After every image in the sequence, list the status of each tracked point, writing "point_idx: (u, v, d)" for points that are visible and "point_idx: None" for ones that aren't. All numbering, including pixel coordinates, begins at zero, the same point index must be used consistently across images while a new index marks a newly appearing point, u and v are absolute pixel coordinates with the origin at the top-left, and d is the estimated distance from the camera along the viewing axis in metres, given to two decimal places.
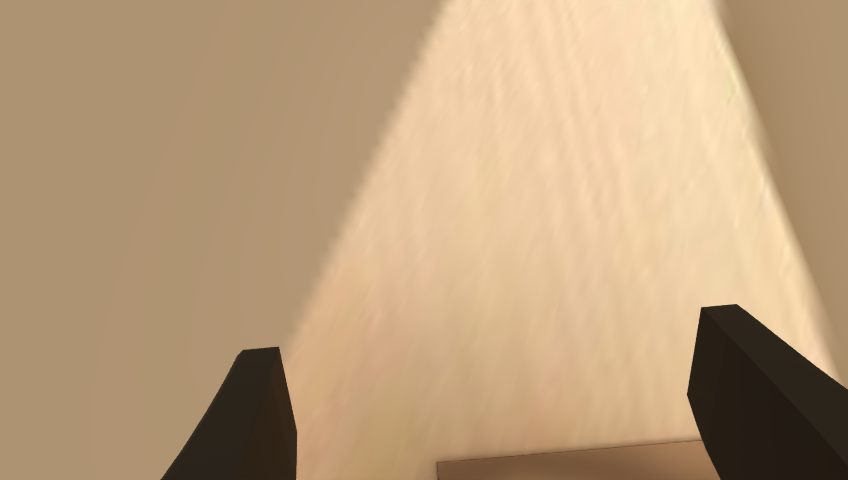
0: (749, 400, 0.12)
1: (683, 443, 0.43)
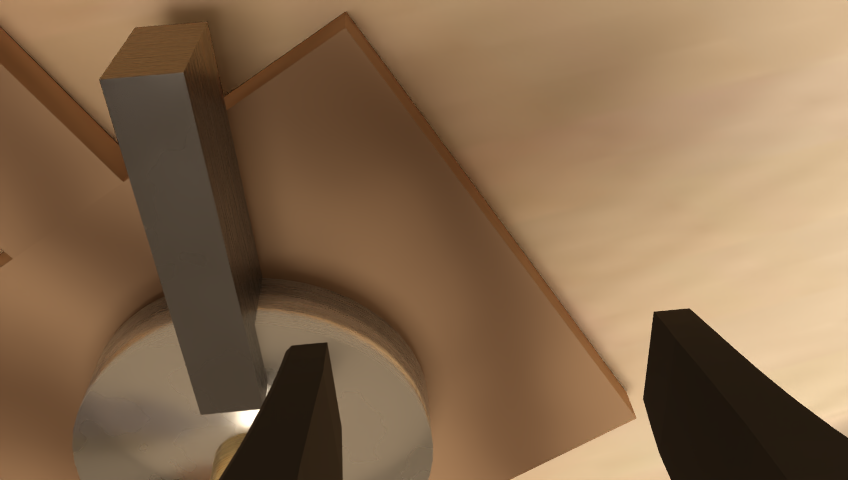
0: (696, 405, 0.12)
1: (598, 370, 0.25)
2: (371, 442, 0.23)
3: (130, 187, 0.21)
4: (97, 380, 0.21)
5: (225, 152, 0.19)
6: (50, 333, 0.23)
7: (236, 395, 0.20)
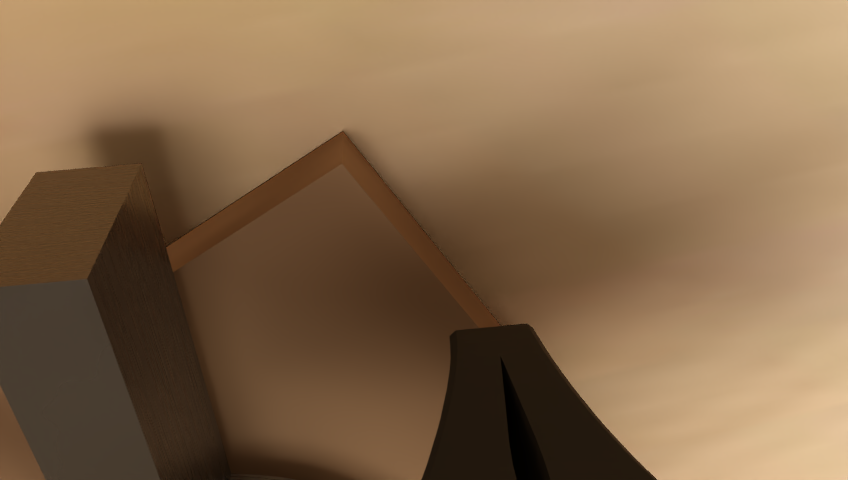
0: (514, 422, 0.12)
1: None
2: None
3: None
4: None
5: (170, 342, 0.13)
6: None
7: None
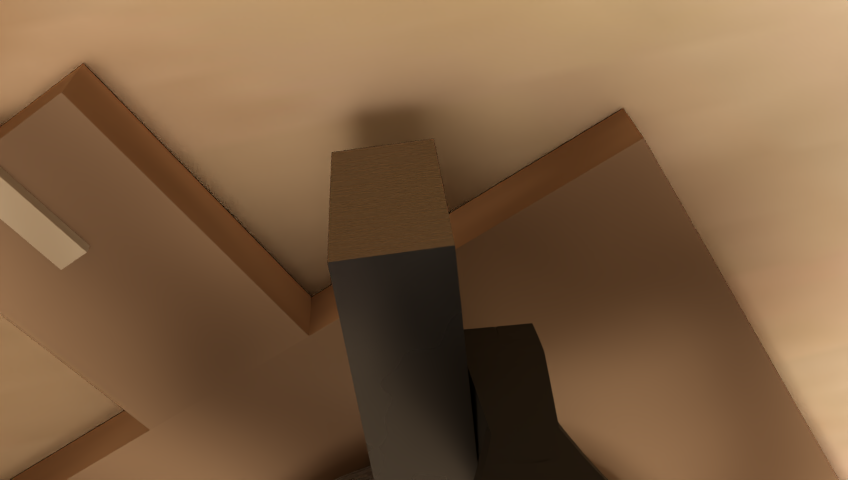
0: (477, 427, 0.12)
1: None
2: None
3: (317, 342, 0.15)
4: None
5: None
6: None
7: None
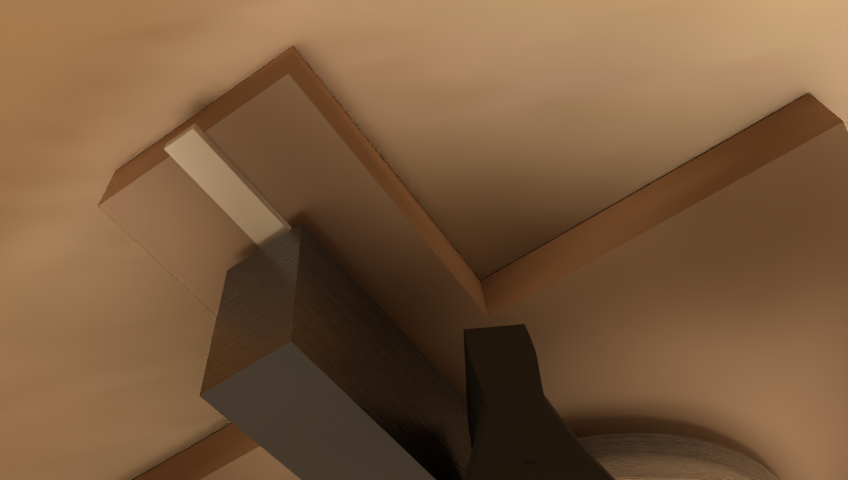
0: None
1: None
2: None
3: (496, 324, 0.15)
4: None
5: (400, 363, 0.14)
6: None
7: None
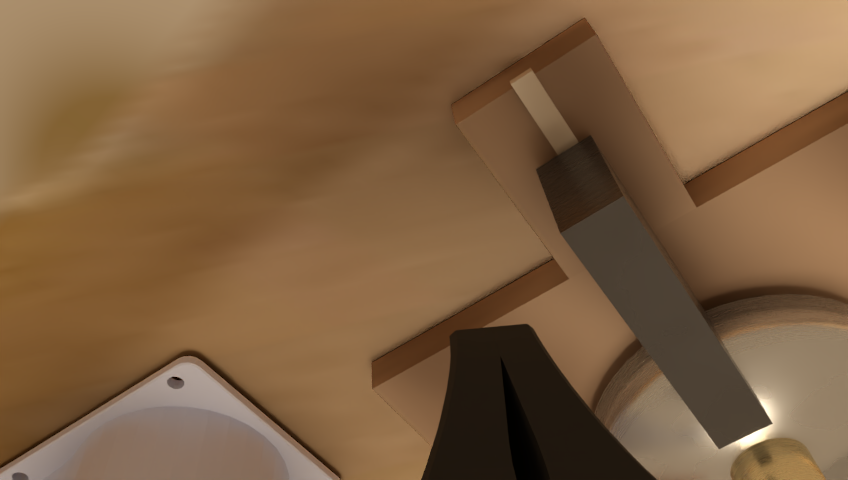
0: (515, 422, 0.12)
1: None
2: None
3: (701, 212, 0.22)
4: None
5: (650, 230, 0.21)
6: (572, 347, 0.25)
7: (745, 422, 0.22)
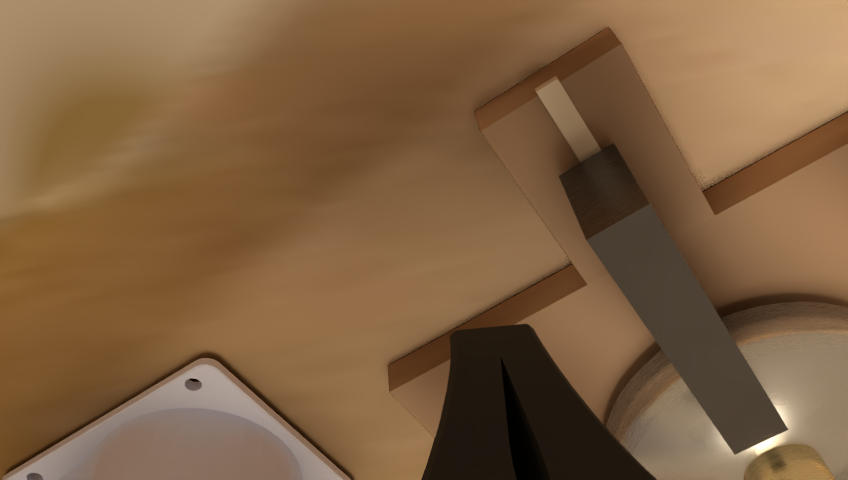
0: (515, 422, 0.12)
1: None
2: None
3: (719, 220, 0.22)
4: None
5: (671, 237, 0.21)
6: (588, 352, 0.25)
7: (761, 428, 0.22)
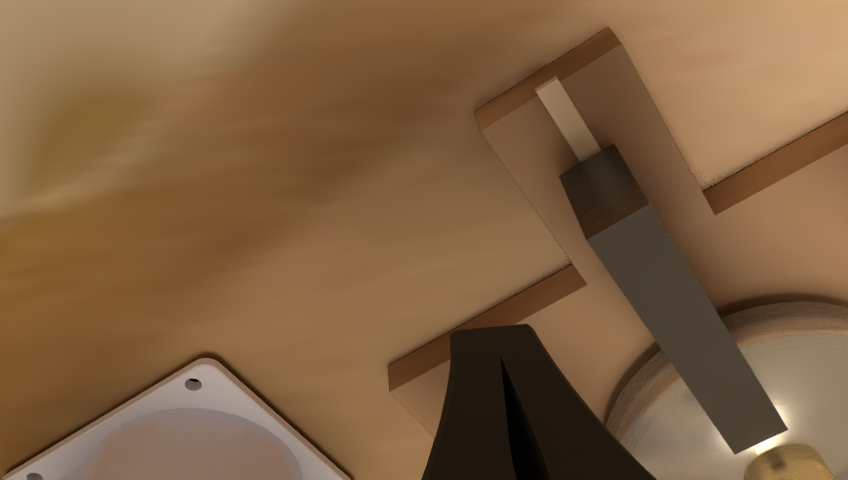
0: (515, 422, 0.12)
1: None
2: None
3: (719, 220, 0.22)
4: None
5: (671, 237, 0.21)
6: (588, 352, 0.25)
7: (761, 428, 0.22)
